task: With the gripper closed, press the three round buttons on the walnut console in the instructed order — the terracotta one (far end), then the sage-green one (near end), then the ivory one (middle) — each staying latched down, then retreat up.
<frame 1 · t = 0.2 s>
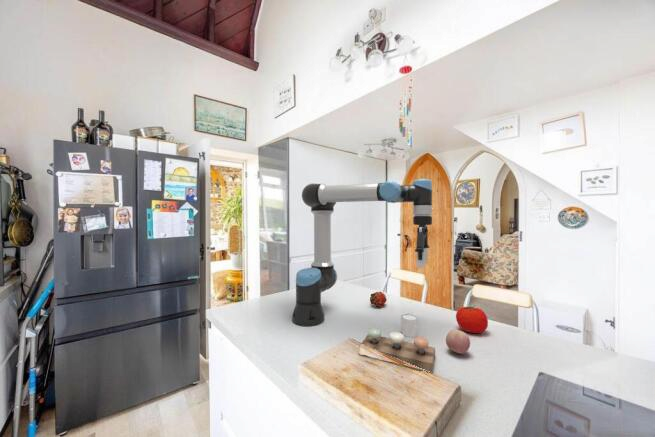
hand: (422, 265, 112), 28 cm above the worktop, fingers open, 13 cm apart
console: (396, 355, 91), on the worktop
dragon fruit: (378, 306, 143), on the worktop
button ivory: (396, 342, 91), point 4 cm above the worktop, slide at 0.0 cm
white cylinder: (409, 334, 108), on the worktop
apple: (457, 353, 93), on the worktop
button sage: (374, 338, 95), point 4 cm above the worktop, slide at 0.0 cm
tomato: (471, 331, 111), on the worktop
button terracotta: (421, 348, 88), point 4 cm above the worktop, slide at 0.0 cm
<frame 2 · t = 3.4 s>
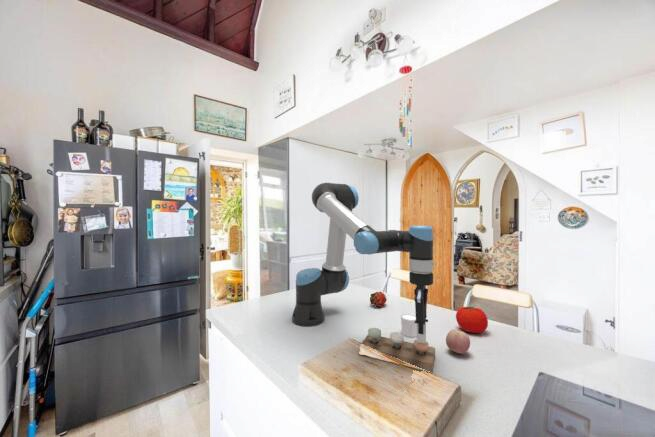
hand: (421, 342, 87), 7 cm above the worktop, fingers closed
button terracotta: (421, 350, 88), point 3 cm above the worktop, slide at 1.0 cm, touching gripper
everything else where it was.
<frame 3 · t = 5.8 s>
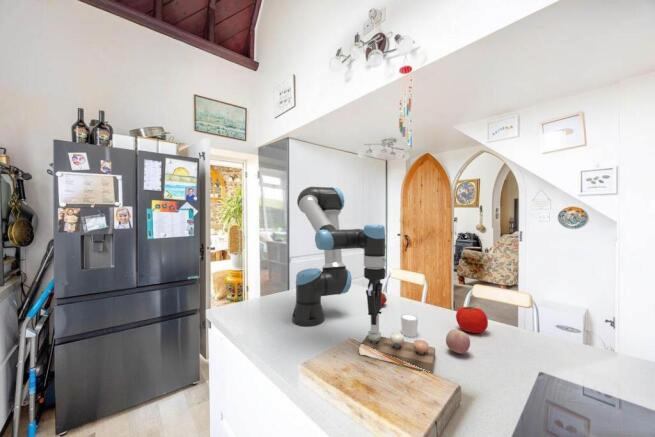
hand: (374, 332, 95), 7 cm above the worktop, fingers closed
button sage: (374, 340, 95), point 4 cm above the worktop, slide at 0.9 cm
button terracotta: (421, 351, 88), point 3 cm above the worktop, slide at 1.2 cm
everything else where it was.
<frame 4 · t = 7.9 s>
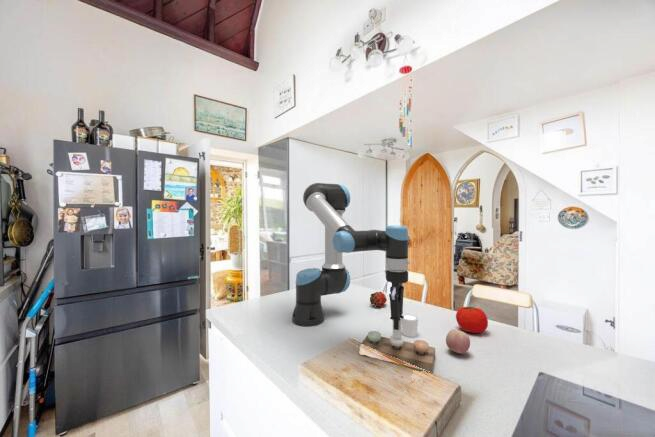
hand: (397, 337, 91), 6 cm above the worktop, fingers closed
button ivory: (396, 345, 91), point 3 cm above the worktop, slide at 1.1 cm, touching gripper
button sage: (374, 341, 95), point 3 cm above the worktop, slide at 1.2 cm
everything else where it was.
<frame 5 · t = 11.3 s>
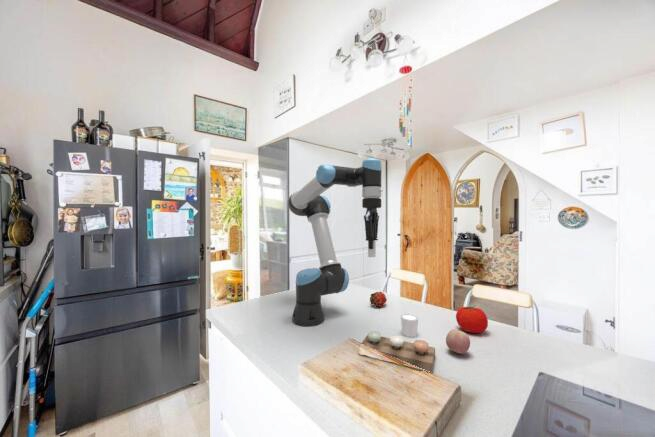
hand: (371, 256, 105), 32 cm above the worktop, fingers closed
button ivory: (396, 346, 91), point 3 cm above the worktop, slide at 1.2 cm
everything else where it was.
at the end: button terracotta slide at 1.2 cm; button sage slide at 1.2 cm; button ivory slide at 1.2 cm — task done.
